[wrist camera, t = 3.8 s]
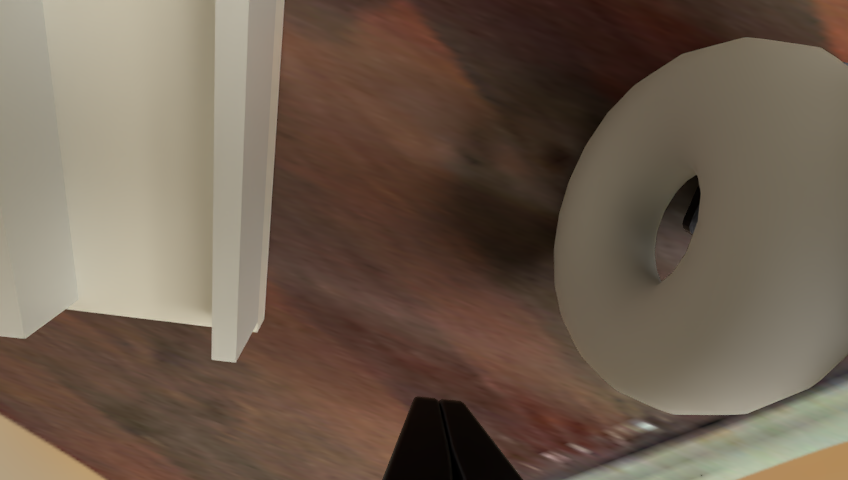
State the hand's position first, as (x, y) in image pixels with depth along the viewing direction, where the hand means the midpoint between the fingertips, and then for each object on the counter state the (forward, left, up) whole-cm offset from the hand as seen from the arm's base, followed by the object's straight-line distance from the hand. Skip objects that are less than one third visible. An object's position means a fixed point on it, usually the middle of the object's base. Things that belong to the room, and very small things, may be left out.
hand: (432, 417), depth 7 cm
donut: (-7, -3, -10) cm, 13 cm away
